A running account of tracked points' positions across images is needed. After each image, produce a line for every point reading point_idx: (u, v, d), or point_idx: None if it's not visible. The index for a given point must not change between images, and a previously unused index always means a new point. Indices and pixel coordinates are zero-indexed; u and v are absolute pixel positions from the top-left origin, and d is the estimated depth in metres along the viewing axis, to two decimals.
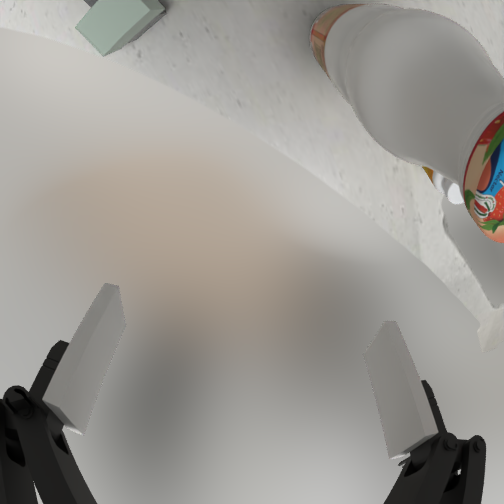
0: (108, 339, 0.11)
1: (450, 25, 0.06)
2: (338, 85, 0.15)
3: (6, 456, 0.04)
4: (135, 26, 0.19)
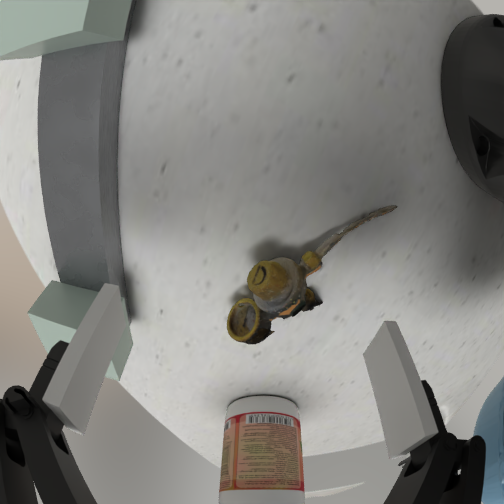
0: (108, 339, 0.11)
1: None
2: None
3: (5, 455, 0.04)
4: None
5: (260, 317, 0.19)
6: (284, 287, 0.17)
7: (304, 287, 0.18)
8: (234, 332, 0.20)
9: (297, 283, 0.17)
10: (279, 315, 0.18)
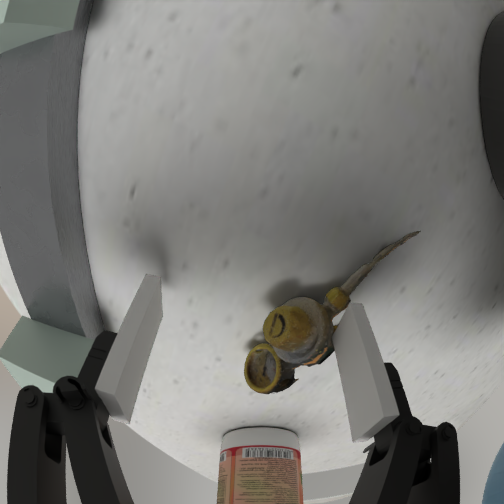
0: (151, 328, 0.12)
1: None
2: None
3: (43, 453, 0.05)
4: None
5: (281, 367, 0.15)
6: (308, 336, 0.14)
7: (331, 331, 0.15)
8: (253, 382, 0.17)
9: (323, 330, 0.14)
10: (303, 364, 0.15)
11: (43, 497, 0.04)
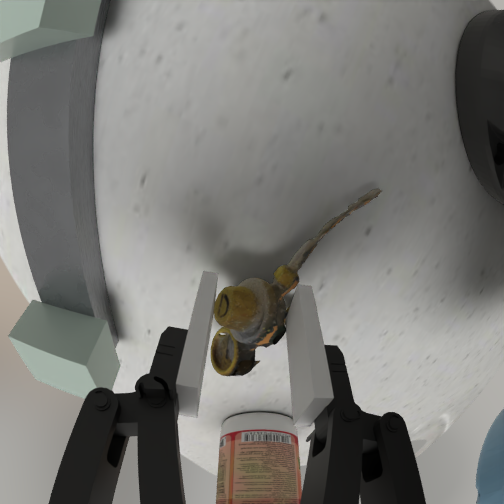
0: (210, 323, 0.13)
1: None
2: None
3: (105, 458, 0.06)
4: None
5: (238, 348, 0.16)
6: (254, 315, 0.15)
7: (281, 310, 0.15)
8: (218, 365, 0.17)
9: (268, 308, 0.14)
10: (258, 345, 0.15)
11: (94, 502, 0.04)
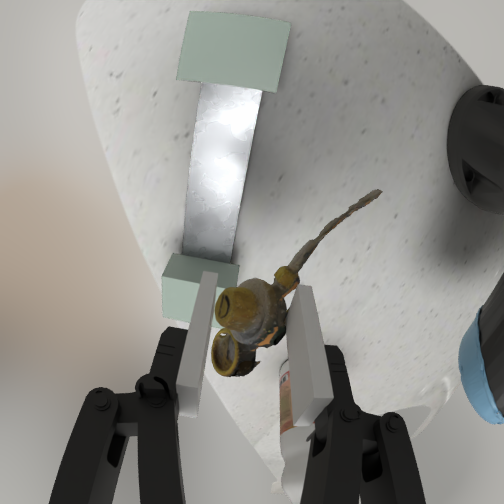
0: (210, 323, 0.13)
1: None
2: (283, 450, 0.29)
3: (105, 459, 0.06)
4: None
5: (239, 349, 0.16)
6: (255, 316, 0.15)
7: (281, 311, 0.15)
8: (219, 365, 0.17)
9: (268, 309, 0.14)
10: (258, 346, 0.15)
11: (94, 502, 0.04)
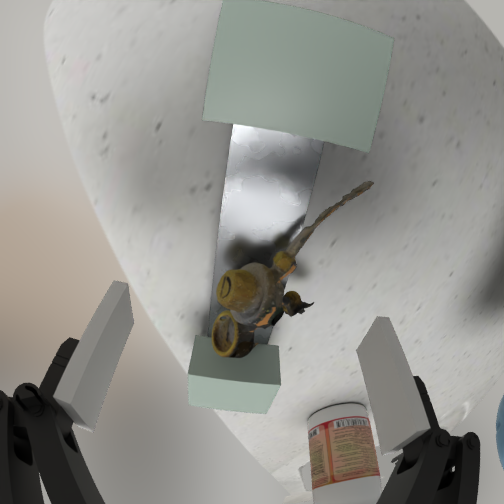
0: (117, 336, 0.11)
1: None
2: None
3: (13, 454, 0.04)
4: None
5: (238, 330, 0.17)
6: (254, 296, 0.16)
7: (279, 292, 0.16)
8: (218, 347, 0.19)
9: (267, 289, 0.16)
10: (257, 326, 0.17)
11: (19, 498, 0.03)
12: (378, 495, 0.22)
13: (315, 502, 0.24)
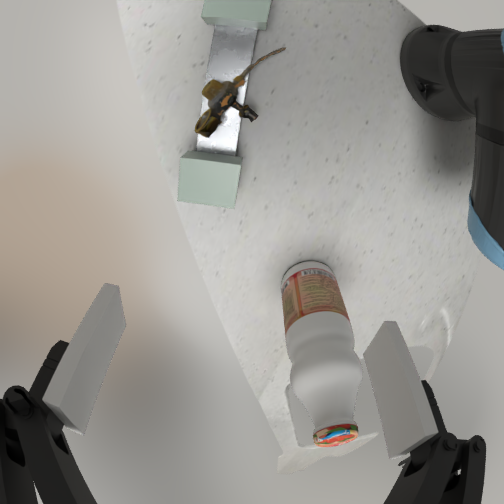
0: (108, 339, 0.11)
1: (354, 373, 0.28)
2: (290, 345, 0.35)
3: (5, 455, 0.04)
4: None
5: (211, 111, 0.28)
6: (221, 88, 0.27)
7: (234, 90, 0.27)
8: None
9: (228, 84, 0.27)
10: (221, 106, 0.28)
11: (13, 500, 0.03)
12: (350, 336, 0.33)
13: (287, 345, 0.35)
